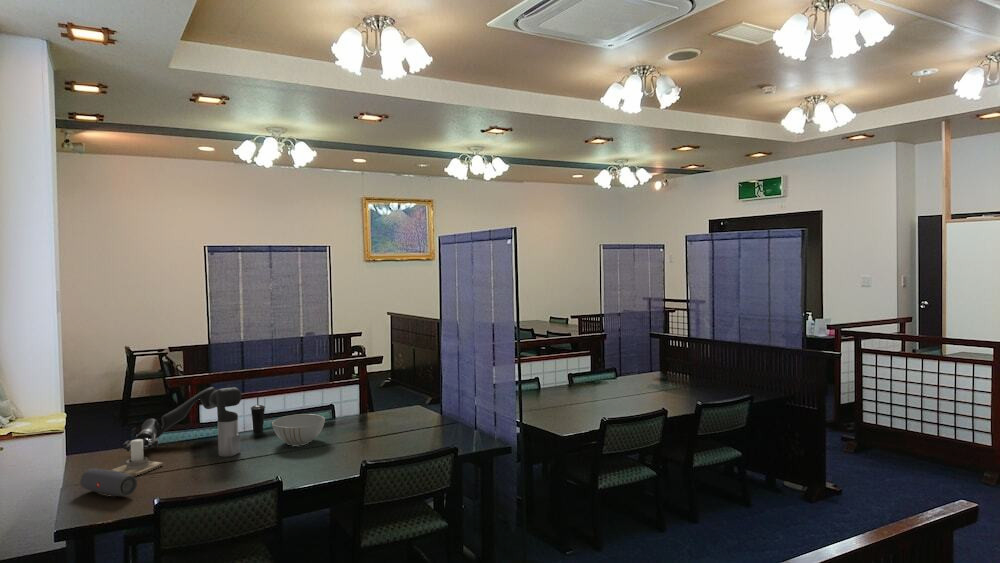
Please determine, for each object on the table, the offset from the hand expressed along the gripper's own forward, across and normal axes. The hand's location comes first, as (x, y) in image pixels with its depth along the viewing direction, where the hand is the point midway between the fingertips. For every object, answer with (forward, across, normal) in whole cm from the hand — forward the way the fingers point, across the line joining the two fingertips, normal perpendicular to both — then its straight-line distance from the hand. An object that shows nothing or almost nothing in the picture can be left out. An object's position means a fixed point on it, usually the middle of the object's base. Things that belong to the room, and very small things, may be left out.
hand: (138, 448), depth 291 cm
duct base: (+3, 0, -9) cm, 10 cm away
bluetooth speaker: (+33, +5, -9) cm, 35 cm away
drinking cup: (-46, -50, -10) cm, 69 cm away
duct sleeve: (+3, 0, -8) cm, 8 cm away
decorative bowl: (-16, -72, -10) cm, 74 cm away
